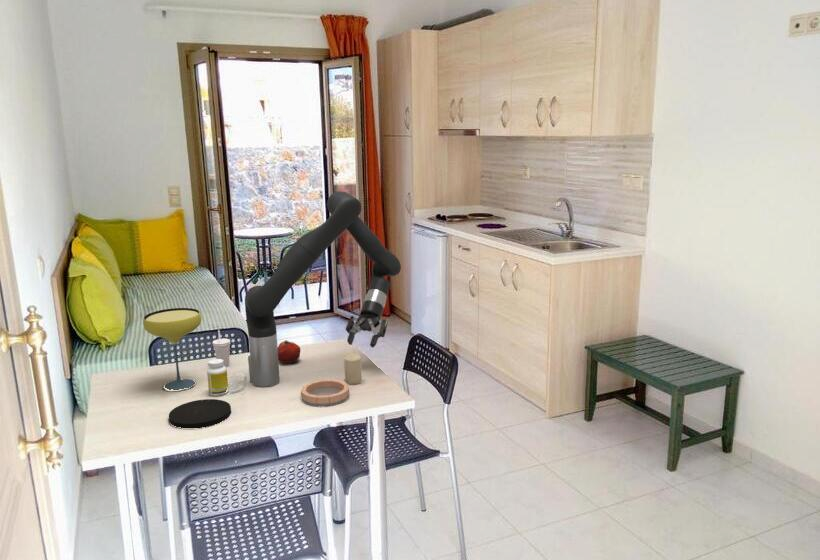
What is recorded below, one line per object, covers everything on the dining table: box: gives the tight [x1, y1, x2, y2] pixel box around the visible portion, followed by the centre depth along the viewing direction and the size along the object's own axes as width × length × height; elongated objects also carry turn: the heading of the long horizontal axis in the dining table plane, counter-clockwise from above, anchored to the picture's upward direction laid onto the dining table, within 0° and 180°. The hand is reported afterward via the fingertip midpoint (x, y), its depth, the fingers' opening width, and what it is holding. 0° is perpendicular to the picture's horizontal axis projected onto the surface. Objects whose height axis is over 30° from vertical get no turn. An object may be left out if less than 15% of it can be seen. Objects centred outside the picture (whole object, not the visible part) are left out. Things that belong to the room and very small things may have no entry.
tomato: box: [277, 340, 301, 364], centre depth 238 cm, size 9×9×8 cm
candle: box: [343, 352, 362, 386], centre depth 217 cm, size 6×6×10 cm
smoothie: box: [212, 329, 232, 368], centre depth 234 cm, size 6×6×14 cm
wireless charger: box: [168, 398, 232, 429], centre depth 193 cm, size 18×18×2 cm
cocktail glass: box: [142, 307, 202, 390], centre depth 215 cm, size 18×18×25 cm
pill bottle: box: [206, 358, 229, 397], centre depth 209 cm, size 6×6×11 cm
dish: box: [300, 378, 350, 408], centre depth 205 cm, size 15×15×3 cm
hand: (360, 345), depth 221 cm, fingers open, 8 cm apart
